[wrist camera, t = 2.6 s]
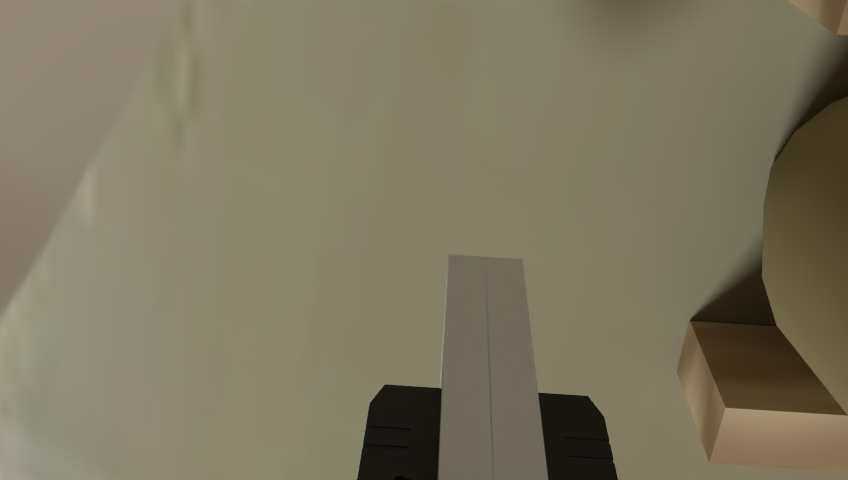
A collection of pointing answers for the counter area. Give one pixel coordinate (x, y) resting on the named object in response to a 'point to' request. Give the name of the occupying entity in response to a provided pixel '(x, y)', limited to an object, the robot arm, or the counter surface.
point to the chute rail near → (826, 13)
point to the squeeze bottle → (811, 245)
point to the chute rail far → (759, 400)
